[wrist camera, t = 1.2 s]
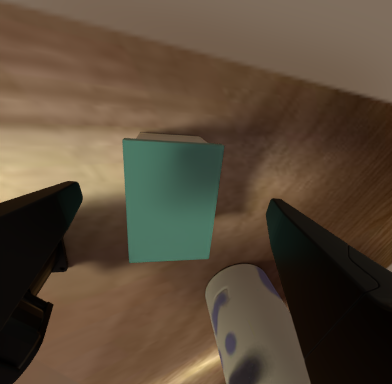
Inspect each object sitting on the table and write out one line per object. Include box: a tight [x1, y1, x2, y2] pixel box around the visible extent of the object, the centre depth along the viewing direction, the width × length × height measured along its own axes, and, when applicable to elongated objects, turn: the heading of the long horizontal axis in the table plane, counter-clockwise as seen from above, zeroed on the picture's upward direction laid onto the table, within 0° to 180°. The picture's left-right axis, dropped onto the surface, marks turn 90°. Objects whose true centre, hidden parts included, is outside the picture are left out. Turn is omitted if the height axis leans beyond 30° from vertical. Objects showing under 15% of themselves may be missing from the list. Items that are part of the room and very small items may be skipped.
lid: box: [123, 138, 224, 263], centre depth 17 cm, size 11×7×2 cm
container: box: [205, 264, 311, 384], centre depth 22 cm, size 10×10×20 cm
